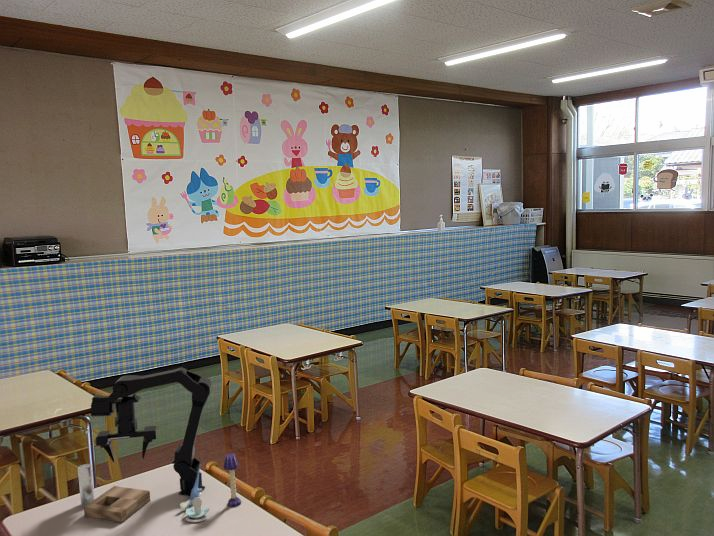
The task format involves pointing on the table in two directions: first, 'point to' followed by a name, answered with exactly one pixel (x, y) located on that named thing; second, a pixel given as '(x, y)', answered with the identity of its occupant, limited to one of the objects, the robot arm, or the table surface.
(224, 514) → the table surface
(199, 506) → the pacifier
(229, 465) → the toy lamp
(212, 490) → the table surface
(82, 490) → the aluminium peg
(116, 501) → the pocket board
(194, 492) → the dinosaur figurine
